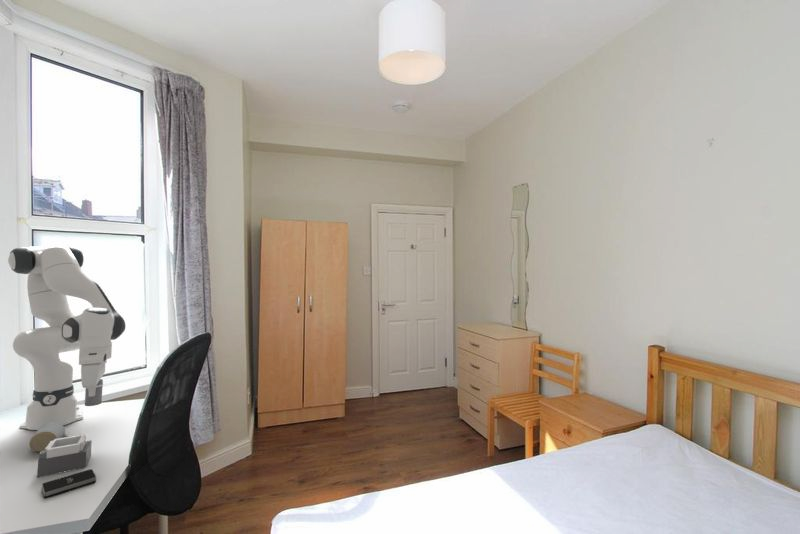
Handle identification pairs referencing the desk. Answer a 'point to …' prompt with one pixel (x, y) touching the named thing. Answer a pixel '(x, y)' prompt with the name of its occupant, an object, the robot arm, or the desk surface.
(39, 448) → the ceramic mug
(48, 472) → the camera body
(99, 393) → the lens
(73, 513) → the desk surface
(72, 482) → the external hard drive
